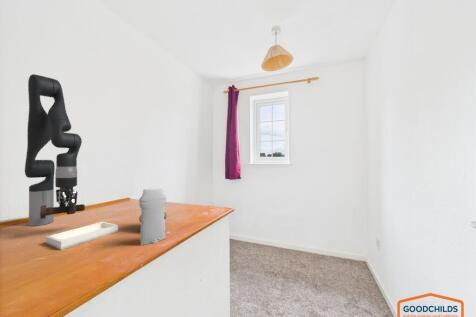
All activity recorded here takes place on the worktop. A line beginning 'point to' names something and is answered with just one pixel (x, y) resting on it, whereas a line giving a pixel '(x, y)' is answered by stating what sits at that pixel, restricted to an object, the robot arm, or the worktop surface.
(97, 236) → the parts tray
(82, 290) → the worktop surface
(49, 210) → the bolt
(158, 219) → the tall pale column
